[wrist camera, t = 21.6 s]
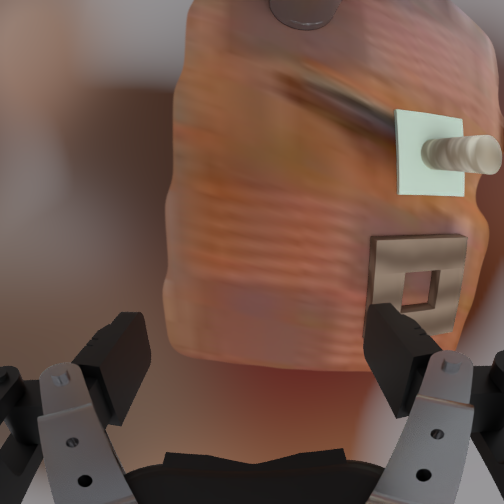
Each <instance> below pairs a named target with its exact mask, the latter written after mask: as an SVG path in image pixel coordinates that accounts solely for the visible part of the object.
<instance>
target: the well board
mask: <svg viewBox="0 0 504 504" xmlns="http://www.w3.org/2000/svg"><path fill="white" fill-rule="evenodd" d="M467 240H468V237H466V236H463V235H461V234H436V235H402V236H371V240H370V260H369V276H368V289H367V301H366V311H365V321H364V330H363V338H364V336H365V328H366V319H367V311H368V307H369V305H370V304H379V303H391V304H392V305H393V306H394V307H395V308H396V309H397V310H398V311H399V312H400V314H404V315H406V316H408V317H410V318H412V319H414V320H415V321H416V322H417V323H418V324H419V325H420V326H421V329H422V328H423V329H424V330H425V331H426V332H427V335H429V336H432V335H438V334H443V333H448V332H452V331H453V326H454V322H455V317H456V312H457V307H458V302H459V297H460V291H461V285H462V279H463V272H464V265H465V258H466V249H467ZM420 271H432V277H431V284H430V291H429V298H428V303H422V304H414V305H405V306H401V304H402V296H403V288H404V279H405V273H407V272H420Z"/></svg>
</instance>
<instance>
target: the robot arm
mask: <svg viewBox="0 0 504 504" xmlns="http://www.w3.org/2000/svg"><path fill="white" fill-rule="evenodd" d="M341 1H342V0H269V2H270V8H271V11H272V13H273V14H274V16H275V17H276V18H277V19H278V20H279V21H281V22H282V23H284V24H285V25H288V26H290V27H292V28H296V29H301V30H313V29H318V28H320V27H323V26H324V25H326V24H327V23H328V22H329V21H330V20H331V19H332V17H333V15H334V13H335V12H336V10H337V8H338V6H339V5H340V3H341ZM363 349H364V356H365V359H366V361H367V363H368V365H369V367H370V369H371V370H372V372H373V374H374V376H375V378H376V380H377V382H378V384H379V386H380V388H381V390H382V392H383V393H384V396H385V397H386V399H387V401H388V403H389V405H390V407H391V409H392V411H393V413H394V415H395V417H396V419H397V418H402V417H406V416H409V417H408V419H407V422H406V424H405V427H404V429H403V431H402V434H401V436H400V438H399V441H398V443H397V445H396V447H395V449H394V451H393V453H392V456H391V458H390V460H389V462H388V464H387V466H386V468H383V467H381V466H378V465H375V464H371V463H367V462H362V461H355V460H346V457H345V453H344V450H343V448H341V449H333V450H325V451H317V452H306V453H298V454H295V455H291V456H287V457H284V458H280V459H276V460H272V461H268V462H263V463H258V464H248V463H243V462H238V461H232V460H228V459H223V458H218V457H214V456H209V455H197V454H181V453H170V452H166V454H165V458H164V461H163V464H157V465H151V466H147V467H143V468H139V469H137V470H134V471H131V472H129V473H127V474H126V472H125V471H124V468H123V466H122V464H121V462H120V460H119V458H118V456H117V454H116V452H115V450H114V448H113V446H112V443H111V441H110V439H109V437H108V434H107V432H106V430H105V429H106V427H107V425H108V424H110V425H116V426H122V424H123V421H124V419H125V417H126V415H127V413H128V411H129V409H130V406H131V404H132V402H133V400H134V398H135V396H136V393H137V391H138V389H139V387H140V385H141V383H142V381H143V379H144V377H145V375H146V372H147V371H148V368H149V366H150V363H151V349H150V345H149V340H148V335H147V331H146V325H145V320H144V316H143V314H142V313H141V312H121V313H120V314H119V315H118V316H117V317H116V318H115V319H114V321H113V322H112V323H111V324H109V325H107V326H105V327H103V328H102V329H100V330H98V331H97V333H96V334H95V335H94V336H93V337H92V340H90V341H89V342H88V343H87V346H85V347H84V348H83V349H82V350H81V351H80V353H79V354H78V355H77V356H76V357H75V359H74V360H73V361H72V362H71V363H60V364H56V365H53V366H51V367H49V368H47V369H46V370H45V371H44V372H43V373H42V374H41V376H40V379H39V380H26V381H24V380H23V379H22V377H21V375H20V373H19V370H18V369H17V368H16V367H13V366H3V367H0V425H1V423H2V422H3V420H4V422H5V423H6V425H7V427H8V428H9V430H10V432H11V434H10V435H9V437H8V438H7V440H6V441H5V443H4V444H3V446H2V448H1V449H0V504H21V502H22V500H23V498H24V496H25V494H26V492H27V489H28V488H29V485H30V483H31V481H32V479H33V477H34V475H35V473H36V471H37V469H38V467H39V465H40V463H41V461H42V460H43V458H44V462H45V467H46V472H47V476H48V480H49V484H50V488H51V492H52V495H53V499H54V502H55V504H454V502H455V499H456V495H457V492H458V488H459V484H460V481H461V477H462V473H463V468H464V464H465V459H466V455H467V450H468V445H469V440H470V437H471V439H472V441H473V443H474V444H475V446H476V448H477V450H478V451H479V453H480V455H481V457H482V459H483V461H484V462H485V464H486V466H487V468H488V470H489V472H490V474H491V475H492V478H493V480H494V481H495V483H496V485H497V487H498V489H499V491H500V493H501V495H502V497H503V499H504V350H503V351H500V352H498V353H497V354H496V356H495V358H494V361H493V364H492V366H473V363H472V361H471V360H470V359H469V358H468V357H467V356H466V355H464V354H462V353H459V352H456V351H451V350H444V351H443V350H442V349H441V348H440V347H439V346H438V344H437V343H436V342H435V341H434V340H433V339H432V338H431V337H430V336H429V335H427V332H426V331H425V330H424V329H423V328H422V329H421V326H420V325H419V324H418V323H417V322H416V321H415V320H414V319H412V318H410V317H408V316H406V315H404V314H400V312H399V311H398V310H397V309H396V308H395V307H394V306H393V305H392V304H391V303H379V304H370V305H369V307H368V311H367V319H366V328H365V336H364V344H363Z"/></svg>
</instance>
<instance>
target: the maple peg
mask: <svg viewBox="0 0 504 504" xmlns="http://www.w3.org/2000/svg"><path fill="white" fill-rule="evenodd" d="M421 157H422V160H423V162H424V164H425V165H426V166H427V167H428V168H430V169H433V170H447V171H459V172H471V173H481V174H495V173H496V172H497V171H498V170H499V168H500V166H501V163H502V152H501V148H500V146H499V144H498V142H497V140H496V139H495V138H494V137H492V136H490V135H478V136H464V137H452V138H441V139H431V140H427V141H426V142H425V143H424V144H423V146H422V149H421Z"/></svg>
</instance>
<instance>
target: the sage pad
mask: <svg viewBox="0 0 504 504" xmlns="http://www.w3.org/2000/svg"><path fill="white" fill-rule="evenodd" d="M394 116H395V132H396V155H397V194H402V195H439V196H463V197H464V172H459V171H447V170H433V169H430V168H428V167H427V166H426V165H425V164H424V162H423V160H422V157H421V149H422V146H423V144H424V143H425V142H426V141H427V140H431V139H441V138H452V137H463V123H462V119H458V118H453V117H447V116H441V115H435V114H429V113H422V112H415V111H407V110H399V109H396V110H394Z"/></svg>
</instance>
